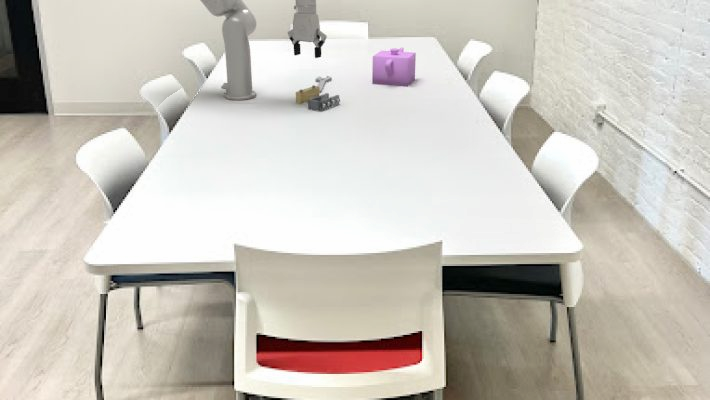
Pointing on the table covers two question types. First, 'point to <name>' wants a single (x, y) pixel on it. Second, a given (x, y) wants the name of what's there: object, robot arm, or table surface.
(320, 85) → the adjustable wrench
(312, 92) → the master link
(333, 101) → the chain end grey
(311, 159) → the table surface
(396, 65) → the teapot
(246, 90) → the robot arm
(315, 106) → the chain end dark
